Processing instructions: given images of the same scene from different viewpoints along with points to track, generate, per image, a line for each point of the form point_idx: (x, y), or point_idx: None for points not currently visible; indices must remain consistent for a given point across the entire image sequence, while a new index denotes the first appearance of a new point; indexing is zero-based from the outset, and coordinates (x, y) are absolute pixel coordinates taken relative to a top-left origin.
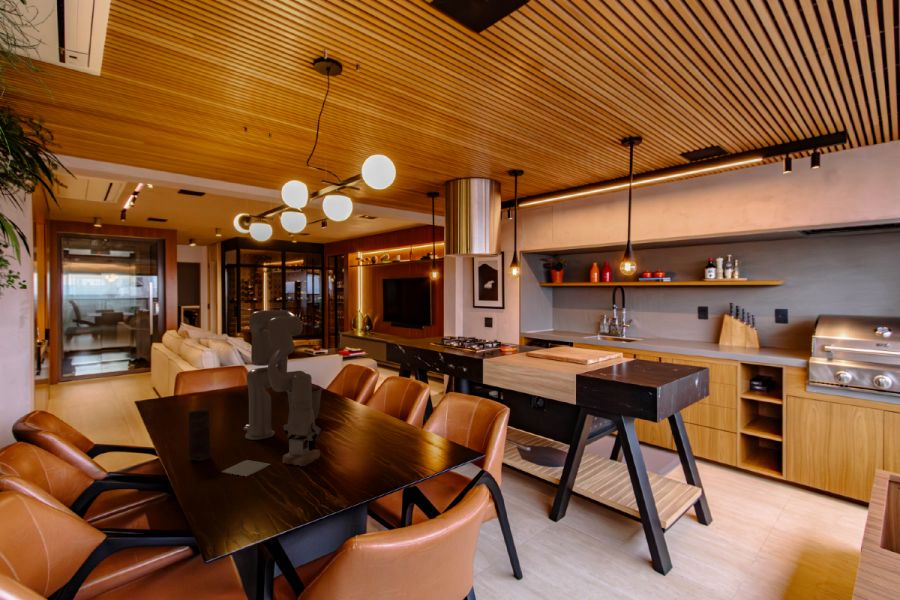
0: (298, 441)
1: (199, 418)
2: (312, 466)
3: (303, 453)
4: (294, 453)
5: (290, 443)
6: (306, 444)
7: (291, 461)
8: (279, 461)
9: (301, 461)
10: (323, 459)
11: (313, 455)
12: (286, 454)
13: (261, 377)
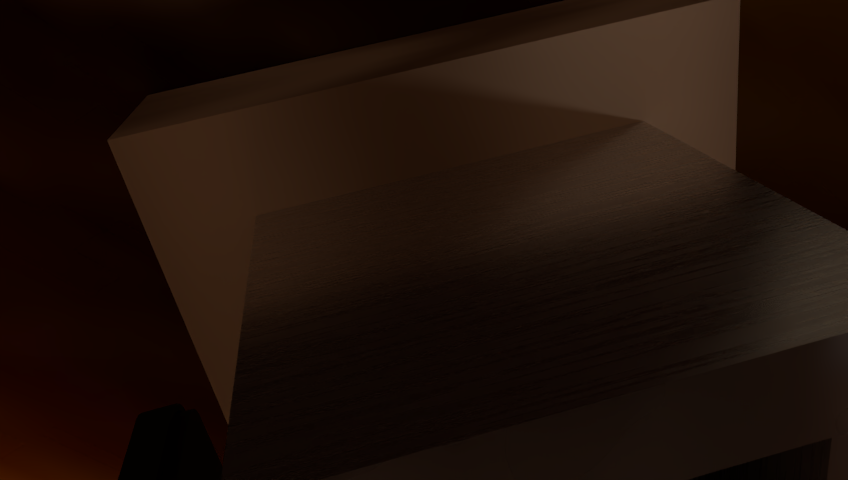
0: (469, 410)
1: None
2: (28, 201)
3: (258, 263)
4: (511, 171)
5: (786, 240)
6: None
7: (457, 35)
8: (761, 10)
9: (187, 104)
10: None
11: None
12: (704, 91)
13: None
